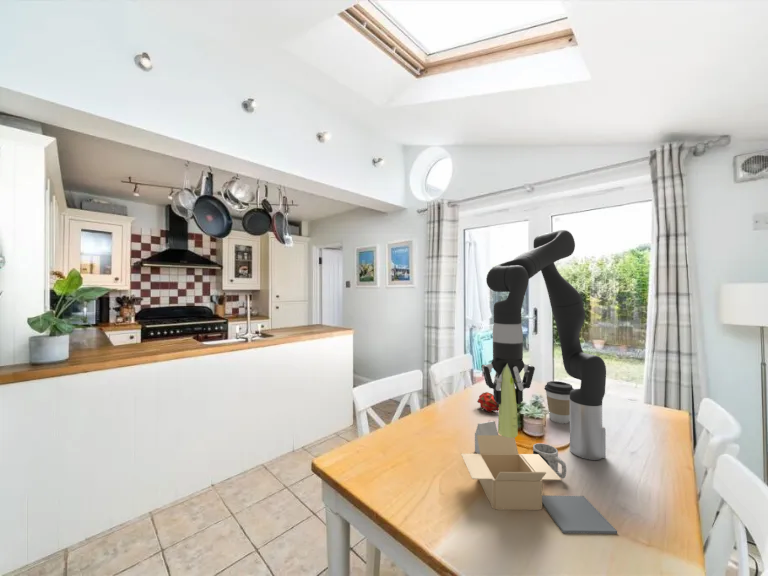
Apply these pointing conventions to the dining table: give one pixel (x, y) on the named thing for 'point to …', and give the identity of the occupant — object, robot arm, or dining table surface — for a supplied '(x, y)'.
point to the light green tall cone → (508, 406)
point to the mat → (576, 515)
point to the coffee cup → (558, 401)
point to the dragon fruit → (488, 402)
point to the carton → (508, 473)
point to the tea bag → (485, 432)
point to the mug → (550, 457)
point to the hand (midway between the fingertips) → (507, 403)
